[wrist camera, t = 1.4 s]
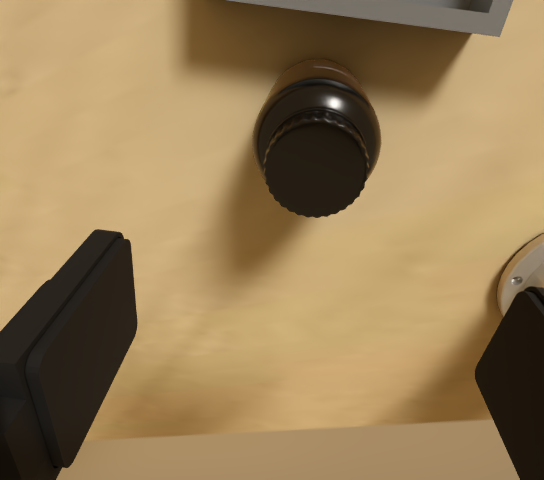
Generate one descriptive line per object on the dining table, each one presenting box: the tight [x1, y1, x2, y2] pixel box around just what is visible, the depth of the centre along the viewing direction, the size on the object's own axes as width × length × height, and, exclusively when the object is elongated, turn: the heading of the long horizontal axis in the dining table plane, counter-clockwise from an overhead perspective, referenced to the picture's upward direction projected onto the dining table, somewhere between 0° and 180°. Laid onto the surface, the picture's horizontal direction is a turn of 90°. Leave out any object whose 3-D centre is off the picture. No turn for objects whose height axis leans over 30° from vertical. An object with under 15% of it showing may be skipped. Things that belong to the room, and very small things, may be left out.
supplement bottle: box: [252, 59, 381, 218], centre depth 23 cm, size 7×7×12 cm
